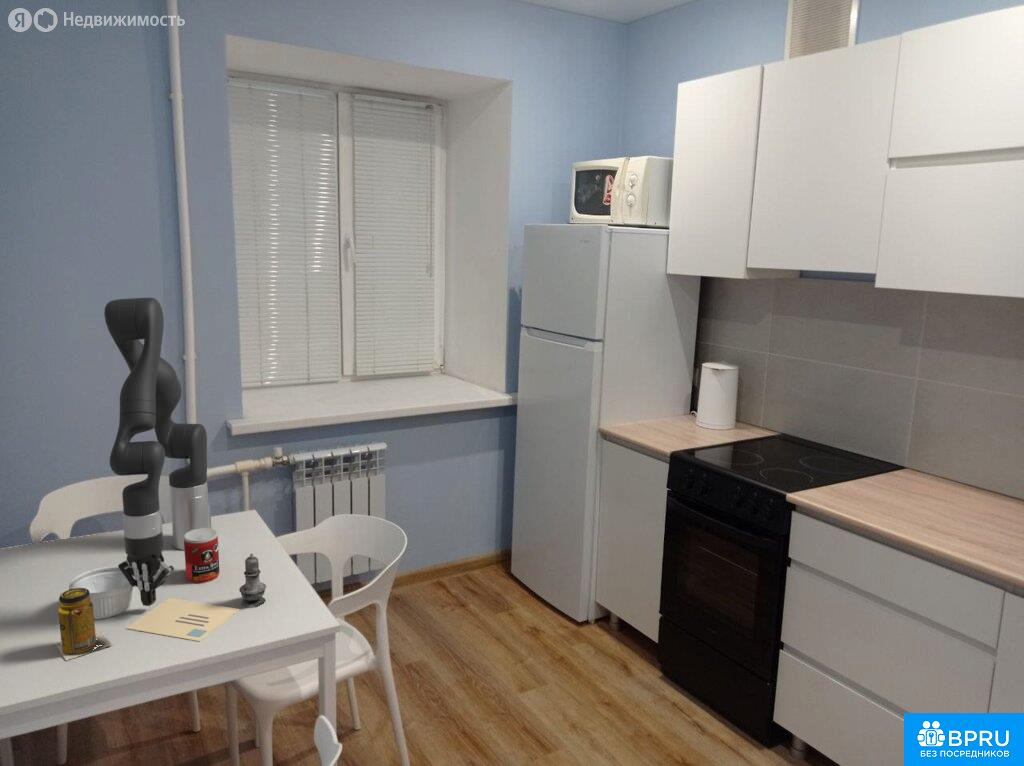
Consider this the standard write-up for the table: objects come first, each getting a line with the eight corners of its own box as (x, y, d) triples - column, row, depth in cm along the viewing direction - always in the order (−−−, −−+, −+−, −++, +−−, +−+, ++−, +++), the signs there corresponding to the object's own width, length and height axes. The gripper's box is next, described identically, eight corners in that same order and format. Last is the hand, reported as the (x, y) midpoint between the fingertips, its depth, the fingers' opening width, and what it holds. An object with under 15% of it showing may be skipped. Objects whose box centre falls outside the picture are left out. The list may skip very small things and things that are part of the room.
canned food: (192, 586, 179) (190, 543, 177) (181, 574, 185) (178, 532, 183) (224, 577, 184) (222, 535, 182) (212, 566, 190) (210, 525, 188)
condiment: (56, 646, 153) (50, 591, 150) (102, 632, 158) (97, 579, 156) (65, 661, 147) (60, 605, 145) (112, 646, 153) (108, 591, 151)
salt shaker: (258, 609, 169) (256, 560, 167) (234, 606, 170) (232, 557, 168) (271, 597, 175) (269, 549, 173) (248, 594, 176) (246, 546, 174)
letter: (170, 598, 173) (170, 597, 173) (239, 609, 169) (239, 608, 169) (125, 628, 160) (125, 627, 160) (199, 641, 156) (199, 640, 156)
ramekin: (146, 609, 168) (144, 580, 167) (81, 629, 159) (78, 599, 158) (127, 588, 177) (125, 561, 176) (64, 606, 168) (61, 577, 167)
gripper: (181, 527, 166) (185, 600, 169) (129, 521, 169) (135, 592, 172) (157, 540, 159) (163, 616, 162) (104, 533, 162) (110, 608, 165)
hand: (148, 604), depth 167 cm, fingers closed
